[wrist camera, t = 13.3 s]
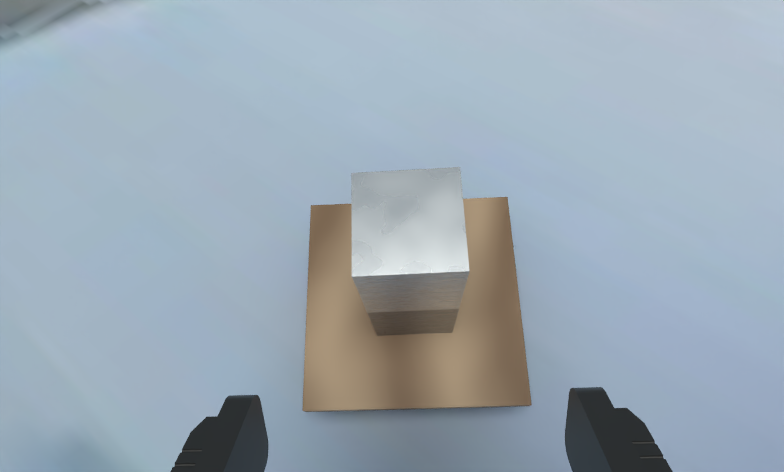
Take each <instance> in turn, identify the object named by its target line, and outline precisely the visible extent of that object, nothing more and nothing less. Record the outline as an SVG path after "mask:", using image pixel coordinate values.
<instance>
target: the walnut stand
mask: <svg viewBox="0 0 784 472" xmlns="http://www.w3.org/2000/svg"><path fill="white" fill-rule="evenodd" d="M463 205H464V216H465V227H466V238H467V249H468V260H469V275H468V278H467V282H466V286H465V289H464V293H463V296H462V300H461V304H460V307H459V311H458V314H457V318H456V322H455V325H454V329H453V332H452V333H433V334H409V335H385V336H377V334H376V332H375V330H374V327H373V325H372V323H371V320H370V318H369V316H368V313H367V311H366V309H365V306H364V304H363V302H362V299H361V297H360V295H359V292H358V290H357V288H356V285H355V283H354V281H353V279H352V204H334V205H311V217H310V241H309V266H308V290H307V315H306V339H305V364H304V388H303V411H305V412H321V411H360V410H399V409H438V408H477V407H516V406H530V405H531V396H530V388H529V379H528V371H527V362H526V353H525V345H524V336H523V328H522V319H521V310H520V302H519V293H518V284H517V276H516V267H515V259H514V250H513V241H512V233H511V224H510V216H509V207H508V198H507V197H496V198H473V199H463Z"/></svg>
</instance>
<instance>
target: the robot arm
mask: <svg viewBox="0 0 784 472" xmlns="http://www.w3.org/2000/svg"><path fill="white" fill-rule="evenodd" d="M565 445H566V452H567V456H568V460H569V463H570V466H571V468H572V471H573V472H672V470H671V468H670V467H669V465H668V463H667V461H666V460H665V459H663V455H662V453H661V451H660V449H659V448H658V446H657V444H655V442H654V439H653V437H652V436H651V434H650V432H649V430H648V429H647V427H646V425H645V424H644V423H643V422H642V421H641V420H640V419H639V418H638V417H637V416H635V415H634V414H633V413H632V412H631V411H630V410H628V409H627V408H614V407H613V405H612V403H611V401H610V399H609V397H608V396H607V394H606V392H605V390H604V389H603V388H601V387H592V388H571V389H570V392H569V400H568V410H567V419H566V429H565ZM267 458H268V438H267V432H266V427H265V422H264V417H263V412H262V407H261V402H260V398H259V396H258V395H237V396H228V397H227V398H226V400H225V402H224V404H223V406H222V408H221V410H220V412H219V414H218V417H206V418H205V419H204V420H203V421H202V422H201V423H200V424H199V425H198V426H197V427H196V428H195V429H194V430H193V431H192V432H191V433H190V435H189V437H188V439H187V441H186V443H185V445H184V447H183V449H182V453H180V454H179V456H178V458H177V460H176V462H175V467H173V468H172V470H171V472H264V470H265V467H266V463H267Z"/></svg>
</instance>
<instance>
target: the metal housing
mask: <svg viewBox="0 0 784 472" xmlns="http://www.w3.org/2000/svg"><path fill="white" fill-rule="evenodd" d="M351 177H352V279H353V281H354V283H355V285H356V288H357V290H358V292H359V295H360V297H361V299H362V302H363V304H364V306H365V309H366V311H367V313H368V316H369V318H370V320H371V323H372V325H373V327H374V330H375V332H376V334H377V336H385V335H409V334H433V333H452V332H453V329H454V325H455V322H456V318H457V314H458V311H459V307H460V304H461V300H462V296H463V293H464V289H465V286H466V282H467V278H468V275H469V260H468V249H467V238H466V227H465V216H464V205H463V194H462V183H461V172H460V167H454V168H435V169H417V170H399V171H380V172H362V173H351Z"/></svg>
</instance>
